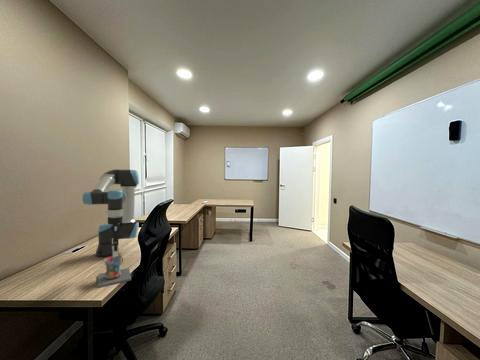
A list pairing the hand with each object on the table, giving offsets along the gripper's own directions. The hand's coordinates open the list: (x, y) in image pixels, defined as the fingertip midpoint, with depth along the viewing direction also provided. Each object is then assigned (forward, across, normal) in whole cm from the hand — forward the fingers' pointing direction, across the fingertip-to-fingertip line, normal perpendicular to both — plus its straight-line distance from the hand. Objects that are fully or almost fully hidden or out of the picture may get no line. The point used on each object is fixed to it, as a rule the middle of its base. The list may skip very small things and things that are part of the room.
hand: (114, 252), depth 124 cm
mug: (+14, 0, 0) cm, 14 cm away
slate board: (+15, +1, 0) cm, 15 cm away
